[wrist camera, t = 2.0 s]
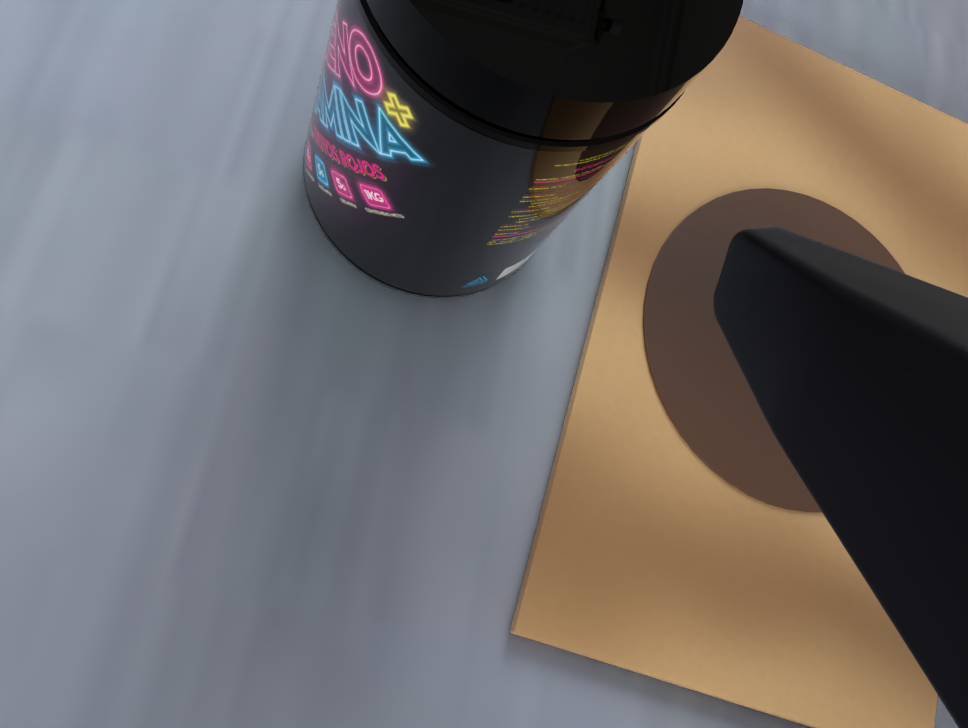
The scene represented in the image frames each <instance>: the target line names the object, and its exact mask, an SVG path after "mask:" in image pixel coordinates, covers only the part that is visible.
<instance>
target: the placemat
mask: <svg viewBox="0 0 968 728" xmlns="http://www.w3.org/2000/svg"><path fill="white" fill-rule="evenodd" d="M764 226H779V227H782V228H785V229H787V230H790V231H793V232H795V233H798V234H801V235H803V236H806V237H809V238H811V239H814V240H817V241H819V242H822V243H824V244H827V245H830V246H832V247H835V248H838V249H840V250H843V251H846V252H848V253H851V254H854V255H856V256H859V257H862V258H864V259H867V260H870V261H872V262H875V263H877V264H880V265H883V266H885V267H888V268H891V269H893V270H896V271H899V272H901V273H904V274H907V275H909V276H912V277H915V278H917V279H920V280H923V281H925V282H928V283H931V284H933V285H936V286H938V287H941V288H944V289H946V290H949V291H952V292H954V293H957V294H960V295H962V296H965V297H968V124H967V123H964V122H962V121H960V120H958V119H956V118H954V117H952V116H950V115H948V114H945V113H943V112H941V111H939V110H937V109H935V108H933V107H931V106H929V105H926V104H924V103H922V102H920V101H918V100H916V99H914V98H912V97H910V96H907V95H905V94H903V93H901V92H899V91H897V90H895V89H893V88H891V87H888V86H886V85H884V84H882V83H880V82H878V81H876V80H874V79H872V78H869V77H867V76H865V75H863V74H861V73H859V72H857V71H855V70H853V69H850V68H848V67H846V66H844V65H842V64H840V63H838V62H836V61H834V60H831V59H829V58H827V57H825V56H823V55H821V54H819V53H817V52H815V51H812V50H810V49H808V48H806V47H804V46H802V45H800V44H798V43H796V42H793V41H791V40H789V39H787V38H785V37H783V36H781V35H779V34H777V33H774V32H772V31H770V30H768V29H766V28H764V27H762V26H760V25H758V24H755V23H753V22H751V21H749V20H747V19H745V18H743V17H741V16H739V18H738V21H737V23H736V25H735V28H734V30H733V32H732V34H731V36H730V37H729V39H728V41H727V42H726V44H725V46H724V47H723V49H722V50H721V51H720V52H719V53H718V55H717V56H716V57H715V58H714V60H713V61H712V62H711V63H710V64H709V65H708V66H707V67H706V68H705V69H704V71H703V72H702V73H701V74H700V75H699V76H698V77H697V78H696V79H695V80H694V81H693V83H692V84H691V85H690V86H689V87H688V88H687V89H686V90H685V92H684V94H683V95H682V96H681V97H680V98H679V100H678V101H677V102H676V103H675V105H674V106H673V107H672V108H671V109H670V110H669V111H668V112H667V113H666V114H665V115H664V116H663V117H662V118H661V119H660V120H659V121H657V122H656V123H654V124H653V125H652V126H650V127H649V128H648V129H647V130H646V131H645V132H644V133H643V135H642V136H641V137H640V138H639V139H638V140H637V143H636V147H635V151H634V155H633V159H632V163H631V166H630V170H629V174H628V178H627V182H626V186H625V190H624V193H623V197H622V201H621V205H620V209H619V213H618V216H617V220H616V224H615V228H614V232H613V236H612V240H611V243H610V247H609V251H608V255H607V259H606V263H605V267H604V270H603V274H602V278H601V282H600V286H599V290H598V293H597V297H596V301H595V305H594V309H593V313H592V317H591V320H590V324H589V328H588V332H587V336H586V340H585V344H584V347H583V351H582V355H581V359H580V363H579V367H578V370H577V374H576V378H575V382H574V386H573V390H572V394H571V397H570V401H569V405H568V409H567V413H566V417H565V421H564V424H563V428H562V432H561V436H560V440H559V444H558V447H557V451H556V455H555V459H554V463H553V467H552V471H551V474H550V478H549V482H548V486H547V490H546V494H545V498H544V501H543V505H542V509H541V513H540V517H539V521H538V524H537V528H536V532H535V536H534V540H533V544H532V548H531V551H530V555H529V559H528V563H527V567H526V571H525V575H524V578H523V582H522V586H521V590H520V594H519V598H518V601H517V605H516V609H515V613H514V617H513V621H512V625H511V628H510V633H512V634H515V635H518V636H522V637H525V638H528V639H531V640H534V641H538V642H541V643H544V644H547V645H550V646H553V647H557V648H560V649H563V650H566V651H569V652H573V653H576V654H579V655H582V656H585V657H589V658H592V659H595V660H598V661H601V662H604V663H608V664H611V665H614V666H617V667H620V668H624V669H627V670H630V671H633V672H636V673H639V674H643V675H646V676H649V677H652V678H655V679H659V680H662V681H665V682H668V683H671V684H674V685H678V686H681V687H684V688H687V689H690V690H694V691H697V692H700V693H703V694H706V695H709V696H713V697H716V698H719V699H722V700H725V701H729V702H732V703H735V704H738V705H741V706H744V707H748V708H751V709H754V710H757V711H760V712H764V713H767V714H770V715H773V716H776V717H779V718H783V719H786V720H789V721H792V722H795V723H799V724H802V725H805V726H808V727H811V728H934V727H935V717H936V708H937V698H938V694H937V693H936V691H935V690H934V688H933V686H932V685H931V683H930V682H929V680H928V679H927V677H926V675H925V674H924V672H923V671H922V669H921V668H920V666H919V664H918V663H917V661H916V660H915V658H914V657H913V655H912V653H911V652H910V650H909V649H908V647H907V645H906V644H905V642H904V641H903V639H902V638H901V636H900V634H899V633H898V631H897V630H896V628H895V627H894V625H893V623H892V622H891V620H890V619H889V617H888V616H887V614H886V612H885V611H884V609H883V608H882V606H881V604H880V603H879V601H878V600H877V598H876V597H875V595H874V593H873V592H872V590H871V589H870V587H869V586H868V584H867V582H866V581H865V579H864V578H863V576H862V575H861V573H860V571H859V570H858V568H857V567H856V565H855V563H854V562H853V560H852V559H851V557H850V556H849V554H848V552H847V551H846V549H845V548H844V546H843V545H842V543H841V541H840V540H839V538H838V537H837V535H836V533H835V532H834V530H833V529H832V527H831V526H830V524H829V522H828V521H827V519H826V518H825V516H824V515H823V513H822V511H821V510H820V508H819V507H818V505H817V504H816V502H815V500H814V499H813V497H812V496H811V494H810V492H809V491H808V489H807V488H806V486H805V485H804V483H803V481H802V480H801V478H800V477H799V475H798V474H797V472H796V470H795V469H794V467H793V466H792V464H791V463H790V461H789V459H788V458H787V456H786V455H785V453H784V451H783V450H782V448H781V446H780V445H779V443H778V441H777V440H776V438H775V436H774V434H773V432H772V431H771V429H770V427H769V425H768V423H767V421H766V419H765V417H764V415H763V413H762V411H761V409H760V407H759V405H758V403H757V401H756V399H755V397H754V395H753V393H752V391H751V389H750V387H749V385H748V383H747V381H746V379H745V377H744V375H743V373H742V371H741V369H740V367H739V365H738V363H737V361H736V359H735V357H734V355H733V353H732V351H731V349H730V347H729V345H728V343H727V341H726V339H725V337H724V335H723V333H722V331H721V329H720V327H719V325H718V323H717V320H716V318H715V314H714V308H713V297H714V293H715V290H716V286H717V283H718V280H719V277H720V273H721V270H722V267H723V264H724V260H725V257H726V254H727V251H728V247H729V244H730V242H731V240H732V238H733V237H734V236H735V234H736V233H738V232H739V231H741V230H743V229H749V228H756V227H764Z"/></svg>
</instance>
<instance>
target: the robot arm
mask: <svg viewBox="0 0 968 728" xmlns="http://www.w3.org/2000/svg"><path fill="white" fill-rule="evenodd" d="M713 308H714V314H715V318H716V320H717V323H718V325H719V327H720V329H721V331H722V333H723V335H724V337H725V339H726V341H727V343H728V345H729V347H730V349H731V351H732V353H733V355H734V357H735V359H736V361H737V363H738V365H739V367H740V369H741V371H742V373H743V375H744V377H745V379H746V381H747V383H748V385H749V387H750V389H751V391H752V393H753V395H754V397H755V399H756V401H757V403H758V405H759V407H760V409H761V411H762V413H763V415H764V417H765V419H766V421H767V423H768V425H769V427H770V429H771V431H772V432H773V434H774V436H775V438H776V440H777V441H778V443H779V445H780V446H781V448H782V450H783V451H784V453H785V455H786V456H787V458H788V459H789V461H790V463H791V464H792V466H793V467H794V469H795V470H796V472H797V474H798V475H799V477H800V478H801V480H802V481H803V483H804V485H805V486H806V488H807V489H808V491H809V492H810V494H811V496H812V497H813V499H814V500H815V502H816V504H817V505H818V507H819V508H820V510H821V511H822V513H823V515H824V516H825V518H826V519H827V521H828V522H829V524H830V526H831V527H832V529H833V530H834V532H835V533H836V535H837V537H838V538H839V540H840V541H841V543H842V545H843V546H844V548H845V549H846V551H847V552H848V554H849V556H850V557H851V559H852V560H853V562H854V563H855V565H856V567H857V568H858V570H859V571H860V573H861V575H862V576H863V578H864V579H865V581H866V582H867V584H868V586H869V587H870V589H871V590H872V592H873V593H874V595H875V597H876V598H877V600H878V601H879V603H880V604H881V606H882V608H883V609H884V611H885V612H886V614H887V616H888V617H889V619H890V620H891V622H892V623H893V625H894V627H895V628H896V630H897V631H898V633H899V634H900V636H901V638H902V639H903V641H904V642H905V644H906V645H907V647H908V649H909V650H910V652H911V653H912V655H913V657H914V658H915V660H916V661H917V663H918V664H919V666H920V668H921V669H922V671H923V672H924V674H925V675H926V677H927V679H928V680H929V682H930V683H931V685H932V686H933V688H934V690H935V691H936V693H937V694H938V696H939V698H940V699H941V701H942V702H943V704H944V705H945V707H946V709H947V710H948V712H949V713H950V715H951V716H952V718H953V720H954V721H955V723H956V724H957V726H958V727H959V728H968V297H965V296H962V295H960V294H957V293H954V292H952V291H949V290H946V289H944V288H941V287H938V286H936V285H933V284H931V283H928V282H925V281H923V280H920V279H917V278H915V277H912V276H909V275H907V274H904V273H901V272H899V271H896V270H893V269H891V268H888V267H885V266H883V265H880V264H877V263H875V262H872V261H870V260H867V259H864V258H862V257H859V256H856V255H854V254H851V253H848V252H846V251H843V250H840V249H838V248H835V247H832V246H830V245H827V244H824V243H822V242H819V241H817V240H814V239H811V238H809V237H806V236H803V235H801V234H798V233H795V232H793V231H790V230H787V229H785V228H782V227H779V226H764V227H756V228H749V229H743V230H741V231H739V232H738V233H736V234H735V236H734V237H733V238H732V240H731V242H730V244H729V247H728V251H727V254H726V257H725V260H724V264H723V267H722V270H721V273H720V277H719V280H718V283H717V286H716V290H715V293H714V297H713Z"/></svg>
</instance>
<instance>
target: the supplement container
mask: <svg viewBox="0 0 968 728" xmlns="http://www.w3.org/2000/svg"><path fill="white" fill-rule="evenodd" d="M742 4H743V0H337V4H336V8H335V13H334V17H333V22H332V26H331V31H330V35H329V40H328V44H327V49H326V53H325V58H324V62H323V67H322V71H321V76H320V80H319V85H318V89H317V94H316V98H315V103H314V107H313V112H312V116H311V121H310V125H309V130H308V134H307V139H306V143H305V149H304V155H303V179H304V186H305V191H306V196H307V199H308V202H309V205H310V208H311V211H312V213H313V215H314V218H315V220H316V222H317V223H318V225H319V227H320V229H321V231H322V232H323V234H324V235H325V237H326V238H327V239H328V241H329V242H330V243H331V245H332V246H333V247H334V248H335V249H336V251H337V252H338V253H339V254H340V255H341V256H342V257H343V258H344V259H345V260H346V261H347V262H348V263H349V264H351V265H352V266H353V267H354V268H356V269H357V270H358V271H359V272H361V273H362V274H364V275H365V276H367V277H368V278H370V279H372V280H373V281H375V282H377V283H379V284H381V285H383V286H386V287H388V288H390V289H393V290H395V291H399V292H402V293H405V294H409V295H414V296H419V297H428V298H455V297H463V296H468V295H472V294H476V293H479V292H482V291H485V290H487V289H489V288H492V287H494V286H496V285H498V284H499V283H501V282H503V281H504V280H506V279H507V278H509V277H510V276H511V275H513V274H514V273H515V272H516V271H517V270H518V269H520V268H521V267H522V266H523V265H524V264H525V263H526V261H527V260H528V259H529V258H530V257H531V256H532V255H533V254H534V253H535V252H536V250H537V249H538V248H539V247H540V246H541V245H542V244H543V243H544V242H545V241H546V240H547V238H548V237H549V236H550V235H551V234H552V233H553V232H554V231H555V230H556V229H557V228H558V226H559V225H560V224H561V223H562V222H563V221H564V220H565V219H566V218H567V217H568V215H569V214H570V213H571V212H572V211H573V210H574V209H575V208H576V207H577V206H578V205H579V203H580V202H581V201H582V200H583V199H584V198H585V197H586V196H587V195H588V194H589V193H590V191H591V190H592V189H593V188H594V187H595V186H596V185H597V184H598V183H599V182H600V180H601V179H602V178H603V177H604V176H605V175H606V174H607V173H608V172H609V171H610V170H611V168H612V167H613V166H614V165H615V164H616V163H617V162H618V161H619V160H620V159H621V158H622V156H623V155H624V154H625V153H626V152H627V151H628V150H629V149H630V148H631V147H632V145H633V144H634V143H635V142H636V141H637V140H638V139H639V138H640V137H641V136H642V135H643V133H644V132H645V131H646V130H647V129H648V128H649V127H650V126H652V125H653V124H654V123H656V122H657V121H659V120H660V119H661V118H662V117H663V116H664V115H665V114H666V113H667V112H668V111H669V110H670V109H671V108H672V107H673V106H674V105H675V103H676V102H677V101H678V100H679V98H680V97H681V96H682V95H683V94H684V92H685V90H686V89H687V88H688V87H689V86H690V85H691V84H692V83H693V81H694V80H695V79H696V78H697V77H698V76H699V75H700V74H701V73H702V72H703V71H704V69H705V68H706V67H707V66H708V65H709V64H710V63H711V62H712V61H713V60H714V58H715V57H716V56H717V55H718V53H719V52H720V51H721V50H722V49H723V47H724V46H725V44H726V42H727V41H728V39H729V37H730V36H731V34H732V32H733V30H734V28H735V25H736V23H737V21H738V18H739V15H740V11H741V8H742Z"/></svg>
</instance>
